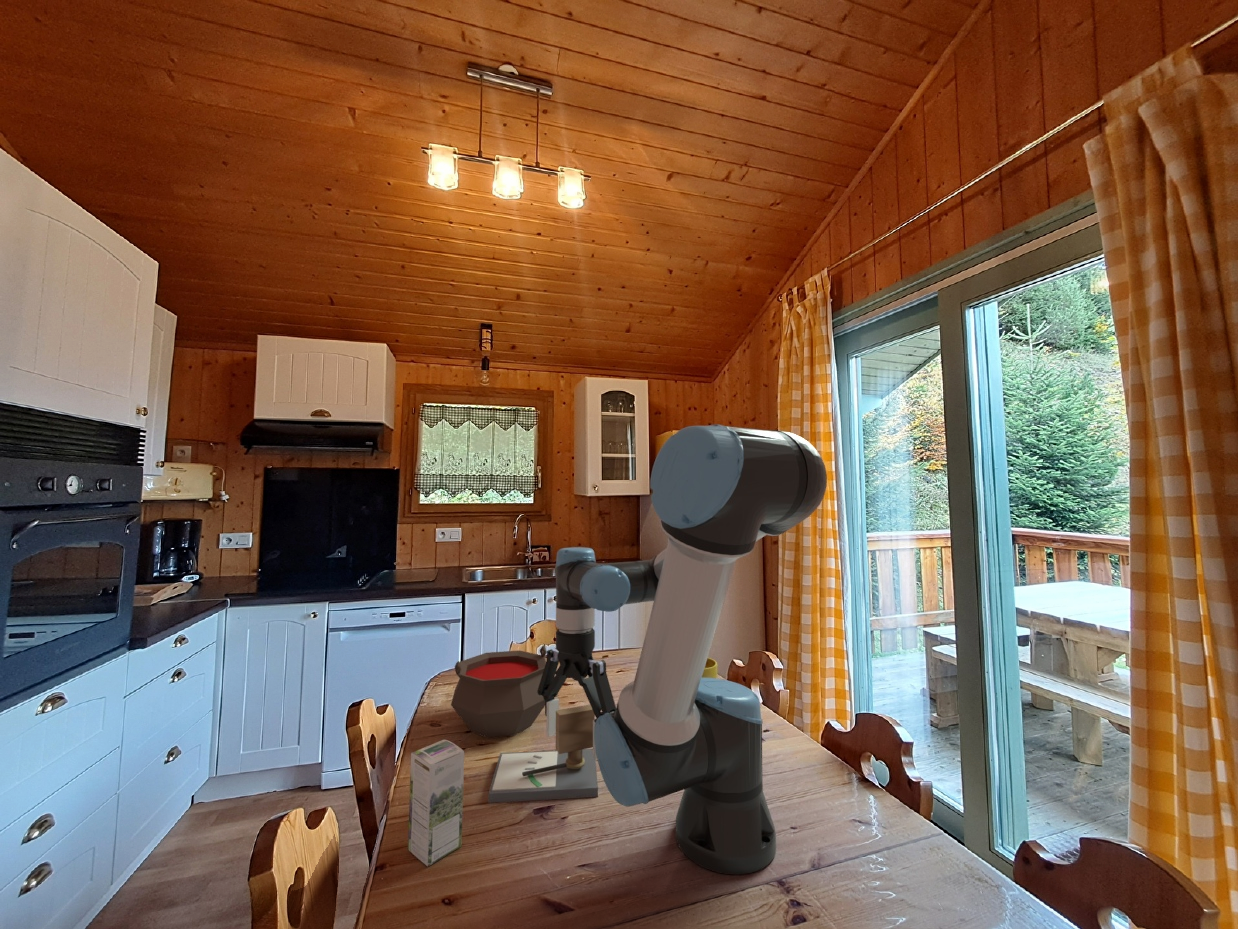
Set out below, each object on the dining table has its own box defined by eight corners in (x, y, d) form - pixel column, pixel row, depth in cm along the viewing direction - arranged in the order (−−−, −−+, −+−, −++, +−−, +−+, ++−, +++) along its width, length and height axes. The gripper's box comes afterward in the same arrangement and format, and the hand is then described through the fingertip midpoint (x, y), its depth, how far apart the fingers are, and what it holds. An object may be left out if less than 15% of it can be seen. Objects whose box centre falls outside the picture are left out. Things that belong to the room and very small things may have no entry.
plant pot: (683, 709, 125) (682, 669, 126) (673, 693, 135) (673, 656, 136) (723, 707, 127) (722, 667, 127) (710, 691, 137) (710, 654, 137)
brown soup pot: (527, 695, 134) (528, 633, 135) (572, 729, 115) (572, 656, 116) (435, 718, 121) (436, 649, 122) (468, 761, 101) (469, 677, 102)
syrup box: (441, 831, 80) (443, 736, 81) (463, 847, 76) (464, 748, 77) (407, 851, 75) (409, 750, 76) (428, 869, 71) (430, 763, 72)
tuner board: (597, 796, 89) (597, 785, 89) (488, 802, 87) (488, 791, 87) (594, 756, 103) (594, 746, 103) (500, 761, 101) (500, 751, 101)
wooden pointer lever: (589, 755, 98) (589, 703, 99) (595, 764, 95) (595, 710, 96) (520, 770, 93) (521, 715, 94) (524, 780, 90) (525, 723, 91)
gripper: (636, 635, 92) (637, 757, 91) (548, 615, 108) (547, 719, 106) (609, 644, 87) (609, 774, 85) (520, 622, 102) (519, 732, 101)
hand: (575, 744), depth 96 cm, fingers open, 12 cm apart
